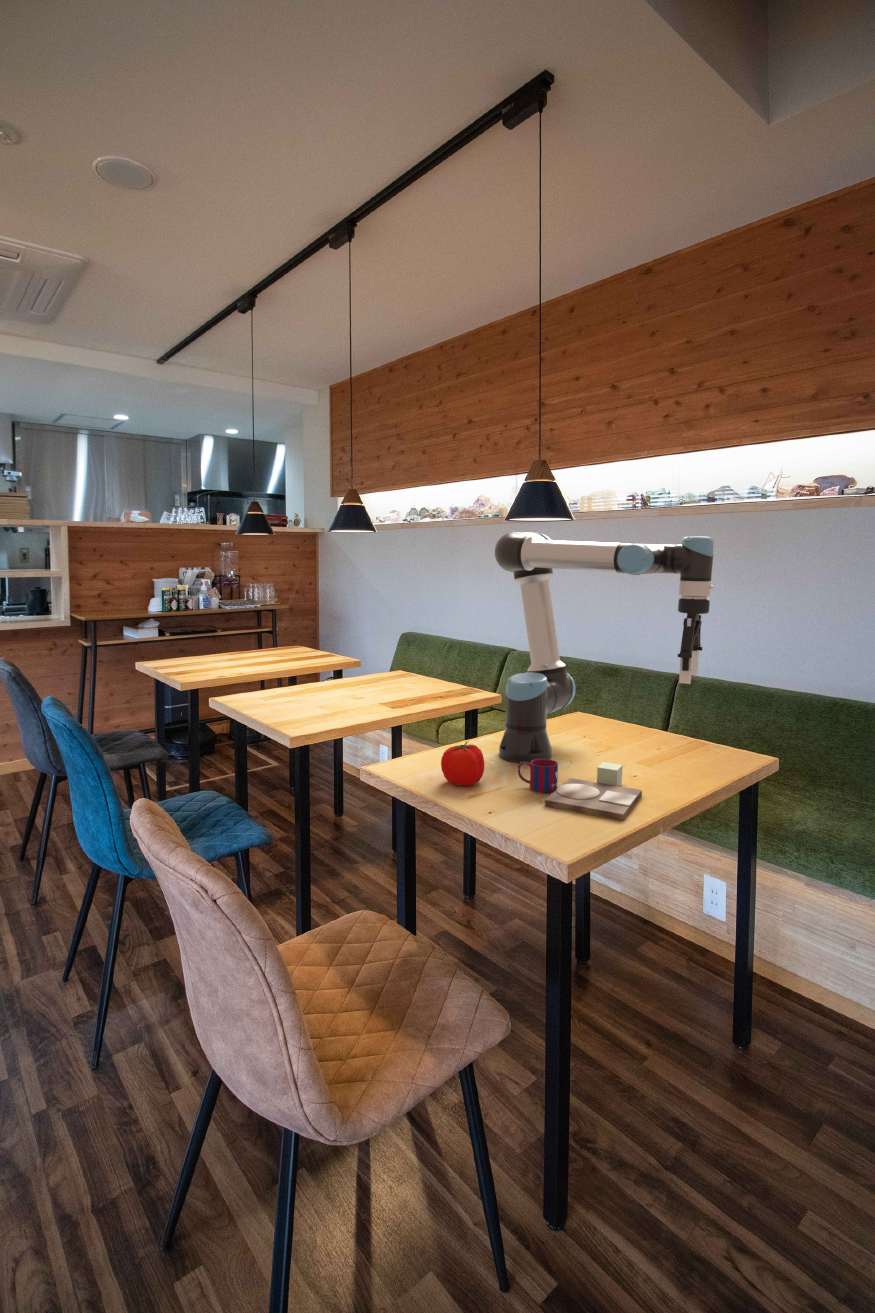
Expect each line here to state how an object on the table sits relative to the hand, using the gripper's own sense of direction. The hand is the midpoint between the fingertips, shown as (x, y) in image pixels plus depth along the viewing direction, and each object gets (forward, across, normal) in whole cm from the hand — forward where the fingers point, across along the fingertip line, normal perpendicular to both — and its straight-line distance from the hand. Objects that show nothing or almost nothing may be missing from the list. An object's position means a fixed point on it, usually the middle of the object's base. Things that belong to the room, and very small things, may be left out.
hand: (688, 678), depth 176 cm
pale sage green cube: (+26, -20, +15) cm, 35 cm away
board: (+25, -33, +15) cm, 44 cm away
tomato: (+26, -36, +48) cm, 65 cm away
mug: (+26, -30, +30) cm, 50 cm away
